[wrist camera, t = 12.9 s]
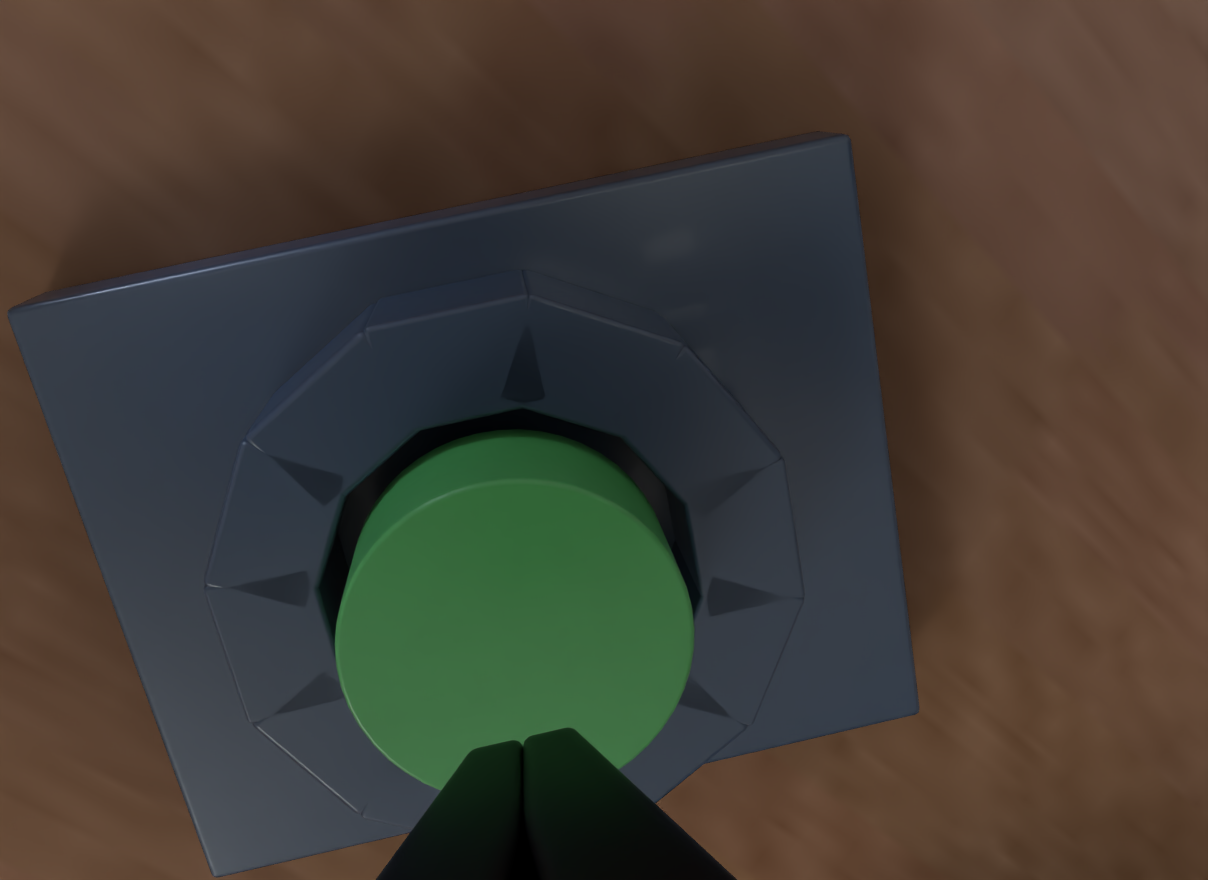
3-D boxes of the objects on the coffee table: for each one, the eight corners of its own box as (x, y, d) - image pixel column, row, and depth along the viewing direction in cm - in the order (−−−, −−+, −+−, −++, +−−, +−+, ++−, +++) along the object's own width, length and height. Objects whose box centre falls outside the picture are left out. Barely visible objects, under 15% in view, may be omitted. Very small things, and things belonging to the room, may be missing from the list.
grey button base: (822, 129, 14) (908, 137, 11) (892, 673, 17) (977, 791, 14) (40, 292, 14) (-73, 343, 11) (230, 827, 16) (177, 981, 13)
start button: (637, 396, 12) (661, 443, 11) (691, 680, 13) (721, 761, 12) (315, 466, 12) (289, 524, 11) (397, 747, 13) (385, 839, 12)
